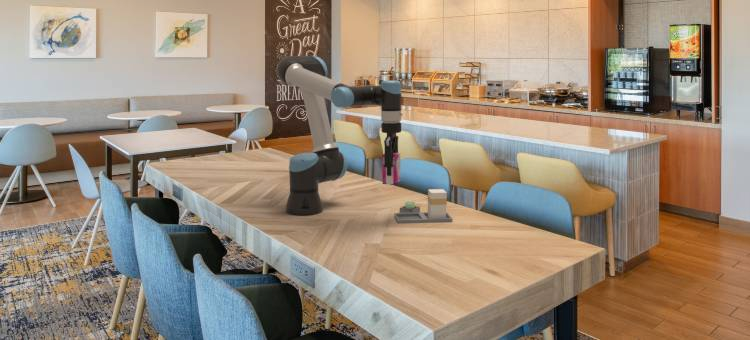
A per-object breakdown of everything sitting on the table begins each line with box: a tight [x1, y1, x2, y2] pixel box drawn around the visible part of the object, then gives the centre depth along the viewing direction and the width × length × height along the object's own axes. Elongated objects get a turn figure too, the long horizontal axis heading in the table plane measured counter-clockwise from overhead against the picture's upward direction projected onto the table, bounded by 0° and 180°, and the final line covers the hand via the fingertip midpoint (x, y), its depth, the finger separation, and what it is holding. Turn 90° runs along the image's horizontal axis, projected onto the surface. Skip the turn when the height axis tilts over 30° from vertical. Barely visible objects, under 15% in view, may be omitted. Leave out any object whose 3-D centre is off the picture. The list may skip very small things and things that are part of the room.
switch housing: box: [399, 205, 421, 213], centre depth 234 cm, size 6×6×3 cm
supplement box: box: [381, 152, 402, 186], centre depth 221 cm, size 6×6×12 cm
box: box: [427, 188, 448, 219], centre depth 224 cm, size 6×6×11 cm
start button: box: [404, 201, 416, 209], centre depth 234 cm, size 4×4×4 cm
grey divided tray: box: [393, 211, 453, 224], centre depth 225 cm, size 21×10×2 cm, turn 97°
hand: (391, 182), depth 222 cm, fingers closed on supplement box, 6 cm apart
